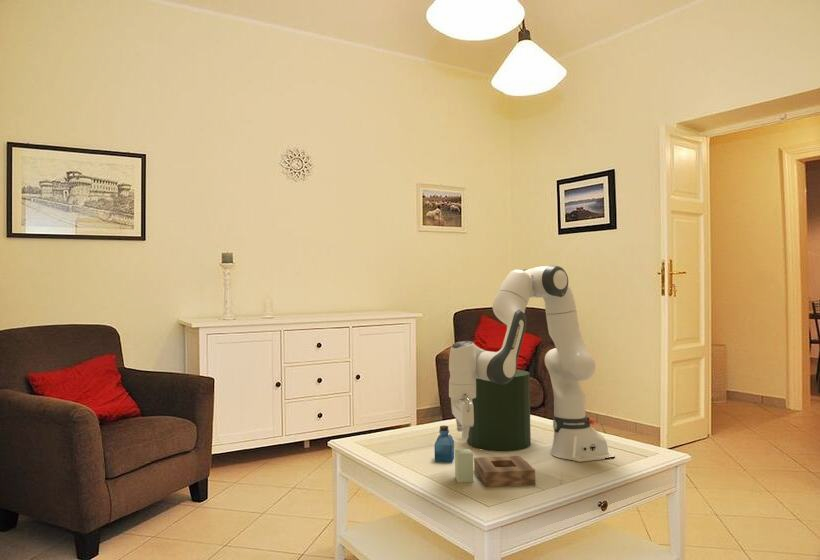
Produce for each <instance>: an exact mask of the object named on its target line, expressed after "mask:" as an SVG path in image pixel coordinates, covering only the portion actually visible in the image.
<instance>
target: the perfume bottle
mask: <svg viewBox="0 0 820 560" xmlns="http://www.w3.org/2000/svg"><path fill="white" fill-rule="evenodd" d="M438 432H439V435H438V436H437V438H436V441H435V442H434V463H442V464H443V463H445V464H447V463H448V464H452V463H453V461H454V460H455V441H454V438H453V437H452V435H451V434H449V433H450V430H449V426H448V425H440V426H439V431H438Z"/></svg>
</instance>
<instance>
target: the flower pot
mask: <svg viewBox="0 0 820 560" xmlns="http://www.w3.org/2000/svg"><path fill="white" fill-rule="evenodd" d="M530 381H531V380H530V372H529V371H526V370H523V369H517V370H516V374H515V376H514V378H513V379H512V380H511V381H510V382H509V383H507V384H504V385H501V384H498V383H494V382H492V381H486V380H482V379H476V398H473V399H472V403H473V409H474V425H473V427H470V429H469V433H468V439H466V443H467V445H468V446H469V447H471V446H472V447H471V448H473V447H474V449H477V450H480V449H482V450H481V451H485V452H486V451H488V452H499V453H500V452H501V453H502V452H516V451H522V450H525V449H528V448H529V447H531V444H532V443H531V442H532V441H531V433H532V432H531V395H530V394H531V393H530V392H531V389H530V388H531V387H530V385H531V384H530V383H531V382H530Z"/></svg>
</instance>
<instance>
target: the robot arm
mask: <svg viewBox="0 0 820 560" xmlns="http://www.w3.org/2000/svg"><path fill="white" fill-rule="evenodd" d="M530 298H542V299H543V301H544V309H545V318H546V323H547V331H548V335H549V336H550V338H551V340H552V342H553V344H554V347H555V348H552V349H550V350H548V351H547V352H546V353H545V356H544V365H545V367H546V369H547V371H548V374H549V377H550V382H551V386H552V392H553V409H554V411H553V413H554V414H553V417H552V418H553V420H552V428H553V431H554V432H553V441H552V446H551V450H550V454H551V455H552V456H553V457H555V458H559V459H563V460H570V461H575V462H579V463H580V462H589V461H600V460H606V459H605V458H607V457H609V456H611V455H610V454H609V452H608V449H609V448H608V442H607V440H606V438H605V437H604V436H603V435H602V434H601V433H599V432H598V431H597V430H596V429H594V428H593V427H592V426H593V425H595V424H596V419H594V418H592V417H591V418H590V417H588V416H586V396H585V393H584V391H583V389H582V386H581V383H580V382H581V381H586V380H589V379H590V378H592V377H593V375H594V374H595V371H596V362H595V360H594V358H593V356H591V355H590V353H589V351H588V349H587V346H586V344H585V341H584V339H583V336H582V334H581V329H580V324H579V317H578V313H577V307H576V302H575V298H574V294H573V291H572V289H571V286H570V285H569V276H568V274H567V272H566V270H565V269H564V268H563V267H561V266H559V265H545V266H544V265H543V266H536V267H533V268H532V267H531V268H529V269H528V268H525V269H513V270H511V271H510V272H509V273H508V274H507V276H506V277H505V278H504V279H503V281H502V283H501V285H500V287H499V288H498V289H497V292H496V294H495V297H494V299H493V302H492V311H493V314H494V315H495V317H496V318H497V319H498V320H499V321H500V322H502V323H503V324H504V325H506V332H505V336H504V338H503V342H502V346H501V348H500V349H499V350H498V351H489V350H485V349H483V348H480V347H479V346H477V345H476V344H475V343H474V342H473V341H471V340H463V341H462V340H461V341H457V342H454V343H453V344H452V345H451V347H450V350H449V357H448V371H449V380H448V397H449V398H450V405H451V413H452V415H453V416H454V418H455V422H456V431H457V432H458V433H460V432H462V433H461V437H462V439H463V440H467V439H468V433H469V429H470V427H473V425H474V409H473V403H472V399H473V398H476V379H482V380H486V381H492V382H494V383H498V384H501V385H504V384H507V383H509V382H510V381H511V380H512V379H513V378H514V376H515V374H516V370H518V369H517V368H518V359H519V355H520V353H521V352H520V351H521V346H522V344H523V340H524V336H525V332H526V329H527V315H526V314H525V312H526V307H527V305H528V303H529V301H530ZM591 425H592V426H591Z"/></svg>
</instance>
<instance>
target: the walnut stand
mask: <svg viewBox="0 0 820 560" xmlns="http://www.w3.org/2000/svg"><path fill="white" fill-rule="evenodd" d="M473 472H475V474H476V476H477V477H478V479H479V480H480V482H481V483H482V485H483V486H484V487H485V488H493V487H494V488H495V487H496V488H497V487H514V486H515V487H516V486H535V485H536V469H534V467H532V466H531V465H530V464H529V462H528V461H526V460H525V459H524V457H523V456H521V455H502V456H480V457H473Z"/></svg>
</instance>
